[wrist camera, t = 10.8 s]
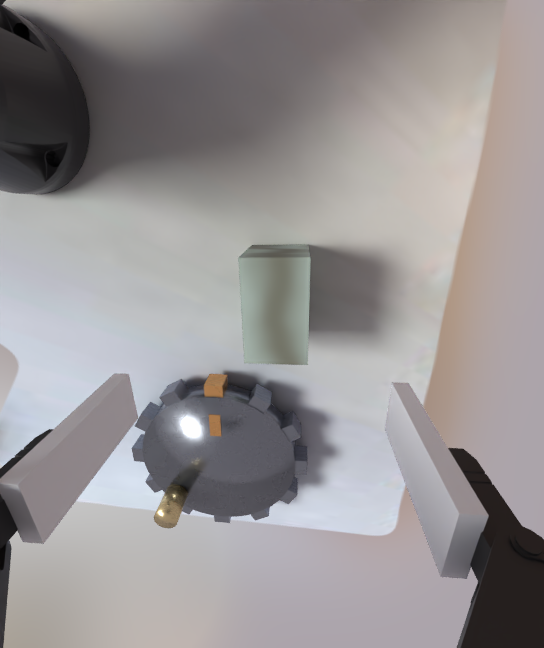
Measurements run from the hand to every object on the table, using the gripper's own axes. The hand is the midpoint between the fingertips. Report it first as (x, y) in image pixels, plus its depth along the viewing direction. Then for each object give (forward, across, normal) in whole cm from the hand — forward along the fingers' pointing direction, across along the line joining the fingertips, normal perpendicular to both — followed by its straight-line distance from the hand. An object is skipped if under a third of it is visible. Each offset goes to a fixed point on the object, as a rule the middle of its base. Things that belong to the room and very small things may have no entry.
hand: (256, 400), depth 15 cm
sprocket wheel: (+21, +8, +22) cm, 31 cm away
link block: (+21, 0, 0) cm, 21 cm away
